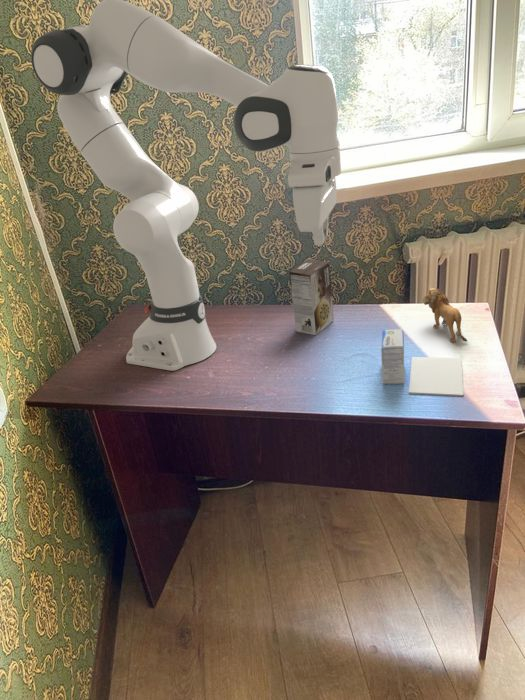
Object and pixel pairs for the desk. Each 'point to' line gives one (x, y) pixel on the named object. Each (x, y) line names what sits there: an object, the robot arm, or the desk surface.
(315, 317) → the coffee box
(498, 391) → the desk surface
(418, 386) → the mat
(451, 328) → the lion figurine
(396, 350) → the medicine box
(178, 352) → the robot arm
